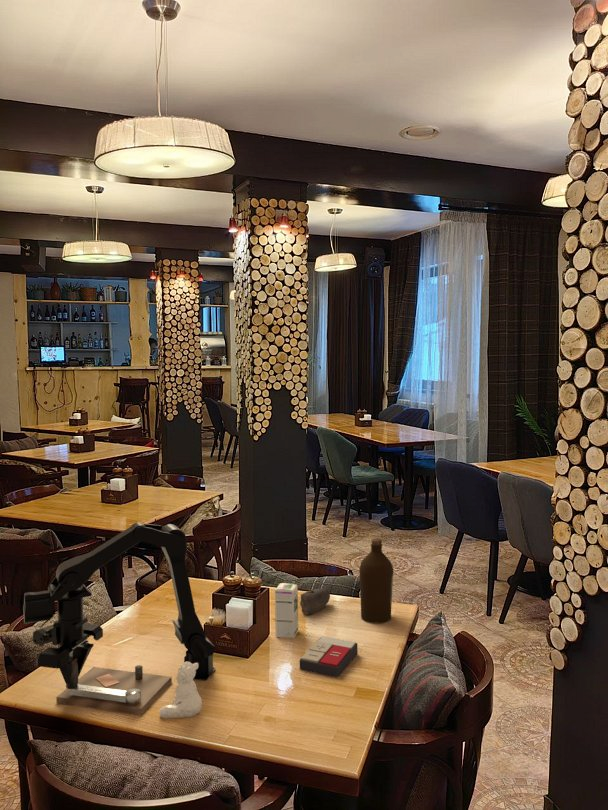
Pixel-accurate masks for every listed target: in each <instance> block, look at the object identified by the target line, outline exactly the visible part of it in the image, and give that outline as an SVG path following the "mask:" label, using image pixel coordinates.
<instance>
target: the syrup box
mask: <svg viewBox="0 0 608 810" xmlns="http://www.w3.org/2000/svg"><path fill="white" fill-rule="evenodd" d="M298 590H299V589H298V584H296V583H289V582H287V583H283V582H281V583H278V585H277V587H276V588H275V589H274V613H275V614H274V615H275V622H274V623H275V637H277V638H282V639H283V638H284V639H294V638H295V637H296V636H297V634H298V632H299V596H298Z"/></svg>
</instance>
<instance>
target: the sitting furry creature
mask: <svg viewBox="0 0 608 810" xmlns="http://www.w3.org/2000/svg"><path fill="white" fill-rule="evenodd" d="M198 666H199V665H198V663H194V664H192V663H190V662H188V661H186V662H184V661H183V663H181V665H180V667H179V668H178V672H177V675H176V677H175V680H176V681H177V686H176V689H175V696H174V700H173V703H170V704H165V705H164V706H161V707H160V709H159V713H158V714H159V715H158V716H159V717H160V718H161V719H182V718H192V717H195V716H196V715H198V713H200V711H201V710H202V706H203V700H202V698H201V696H200V694H199V692H198V690H197V689H198V687H197V685H196V682H195V681H194V679H193V678H194V677H195V674H196V669H198Z"/></svg>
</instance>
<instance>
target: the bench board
mask: <svg viewBox="0 0 608 810" xmlns="http://www.w3.org/2000/svg"><path fill="white" fill-rule="evenodd" d="M143 667H144V666H143V665H141V664H139V665H136V666H134V671H128V670H120V669H111V668H107V667H106V668H104V667H98V666H97V667H96V666H93V667H92V668H90V669H89V670H88V671H87V672H85V673H84V674H83V675H82V676H79V677H78V684H80V685H87V686H95V687H102V688H110V689H117V690H125V691H127V690H130V689H140V690H141V702H139V703H138V704H134V705H129V704H126V703H125V702H118V701H111V700H104V699H96V698H89V697H82V696H75V695H69V689H67V688H66V689H64V690H63V691H62V692H61V693H59V694H58V695H57V696H55V697H56V698H55V699H56V704H61V705H67V706H74V707H81V708H88V707H89V708H90V709H95V710H101V711H102V710H103V711H108V712H109V711H110V712H117V713H124V714H130V715H137V716H142V715H143V714H144V713H145V712H146V711H147V710H148V709H149V707H151V706H152V705H153V703H154V702H155V701H156V700H157V699H158V698H159V697H160V696H161V694H163V693H164V692H165V690H167V688H168V687H169V686H170V685H171V684H172V683H171V682H173V681H172V680H173V678H172V676H169V675H167V676H166V675H160V674H152V673H146V672H145V673H144V672H143ZM170 683H171V684H170Z"/></svg>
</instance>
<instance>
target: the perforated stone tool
mask: <svg viewBox="0 0 608 810" xmlns="http://www.w3.org/2000/svg"><path fill="white" fill-rule="evenodd" d="M330 593H331V592H330V591H329V590H328V589H326V588H316V589H311V590H308V591H306V592H303V593H302V594H300V601H299V605H300V607H301V612H302V613H303V614H304V613H305V615H308V616H309V615H312V614H316V613H317V612H319V611H321V610H322V609H323V608H324V607H326V606H327V605H328V603H329V602H330V597H331V594H330Z"/></svg>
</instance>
